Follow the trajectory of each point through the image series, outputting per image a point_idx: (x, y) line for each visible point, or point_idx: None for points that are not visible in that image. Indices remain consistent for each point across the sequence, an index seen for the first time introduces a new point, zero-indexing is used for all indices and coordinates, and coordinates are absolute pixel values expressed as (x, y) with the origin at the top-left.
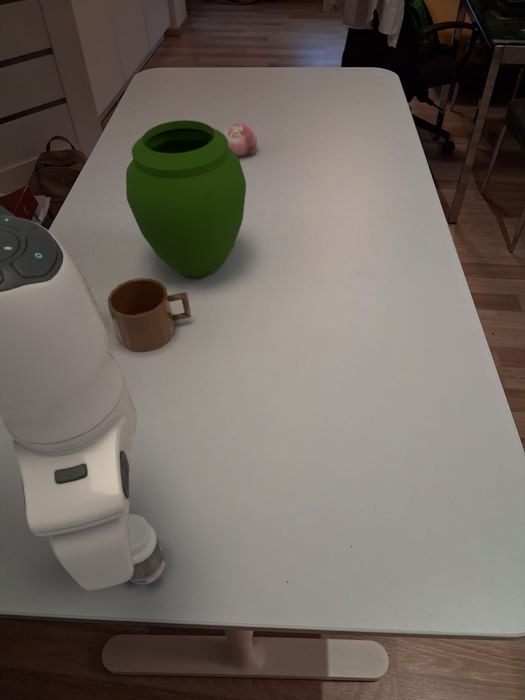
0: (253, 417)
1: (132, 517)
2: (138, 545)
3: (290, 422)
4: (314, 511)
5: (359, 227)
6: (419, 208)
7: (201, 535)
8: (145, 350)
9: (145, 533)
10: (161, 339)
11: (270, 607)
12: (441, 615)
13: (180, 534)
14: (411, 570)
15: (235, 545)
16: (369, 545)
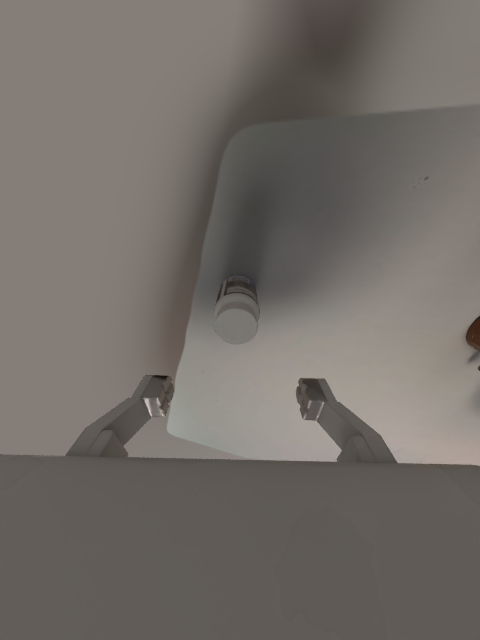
0: (329, 380)
1: (251, 332)
2: (217, 334)
3: None
4: (242, 392)
5: (441, 460)
6: None
7: None
8: (478, 320)
9: (229, 341)
10: (477, 342)
11: (188, 360)
12: (174, 417)
13: None
14: (197, 415)
15: (233, 351)
16: (214, 406)
